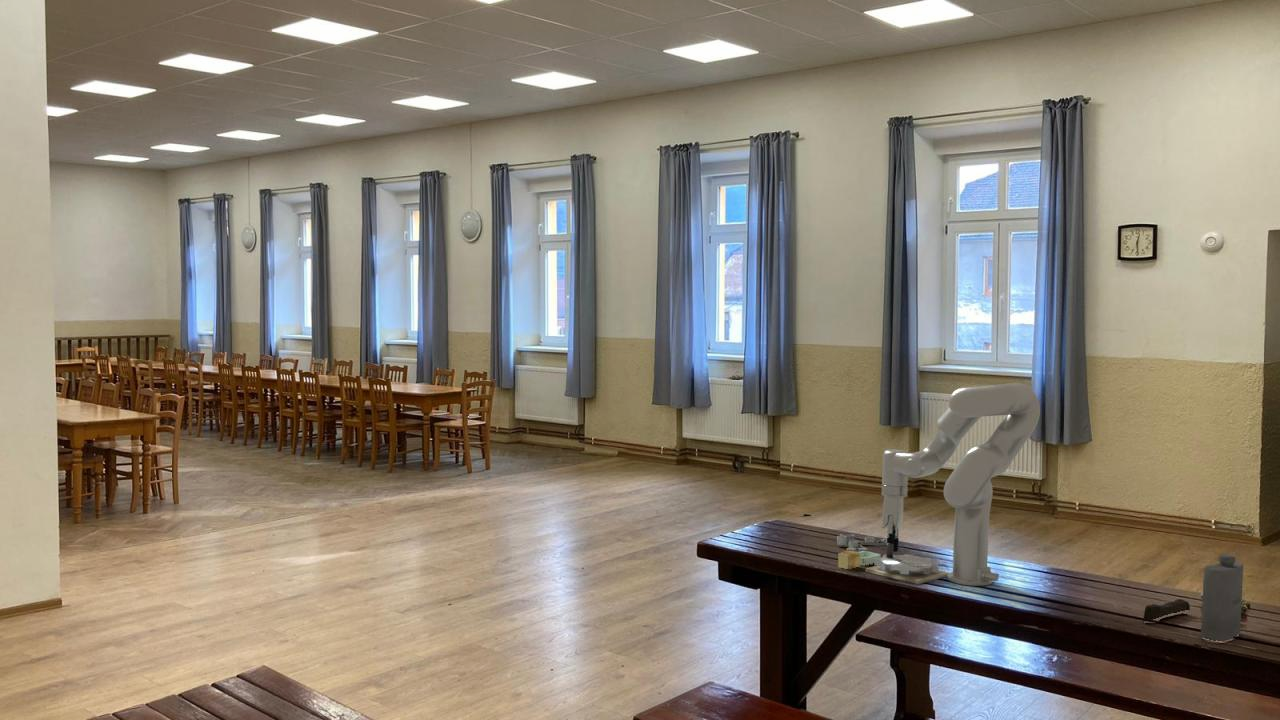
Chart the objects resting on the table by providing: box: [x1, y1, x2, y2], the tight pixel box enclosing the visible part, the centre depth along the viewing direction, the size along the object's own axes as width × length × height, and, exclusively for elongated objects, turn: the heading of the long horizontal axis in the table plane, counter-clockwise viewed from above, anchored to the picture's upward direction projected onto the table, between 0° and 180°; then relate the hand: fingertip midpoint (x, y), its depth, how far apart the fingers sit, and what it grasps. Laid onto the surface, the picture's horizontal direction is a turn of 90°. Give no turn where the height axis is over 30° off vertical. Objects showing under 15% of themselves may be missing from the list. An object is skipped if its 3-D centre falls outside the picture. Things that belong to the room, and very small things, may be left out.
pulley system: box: [836, 533, 887, 552], centre depth 350 cm, size 27×5×15 cm
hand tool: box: [1143, 598, 1191, 622], centre depth 272 cm, size 19×4×5 cm, turn 123°
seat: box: [859, 550, 882, 567], centre depth 327 cm, size 6×9×2 cm
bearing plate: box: [865, 565, 950, 585], centre depth 313 cm, size 18×16×2 cm
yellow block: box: [837, 550, 861, 570], centre depth 320 cm, size 4×6×5 cm, turn 132°
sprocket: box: [874, 543, 940, 574], centre depth 313 cm, size 18×18×6 cm
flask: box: [1200, 553, 1244, 641], centre depth 256 cm, size 15×6×20 cm, turn 132°
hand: (892, 550), depth 322 cm, fingers closed
